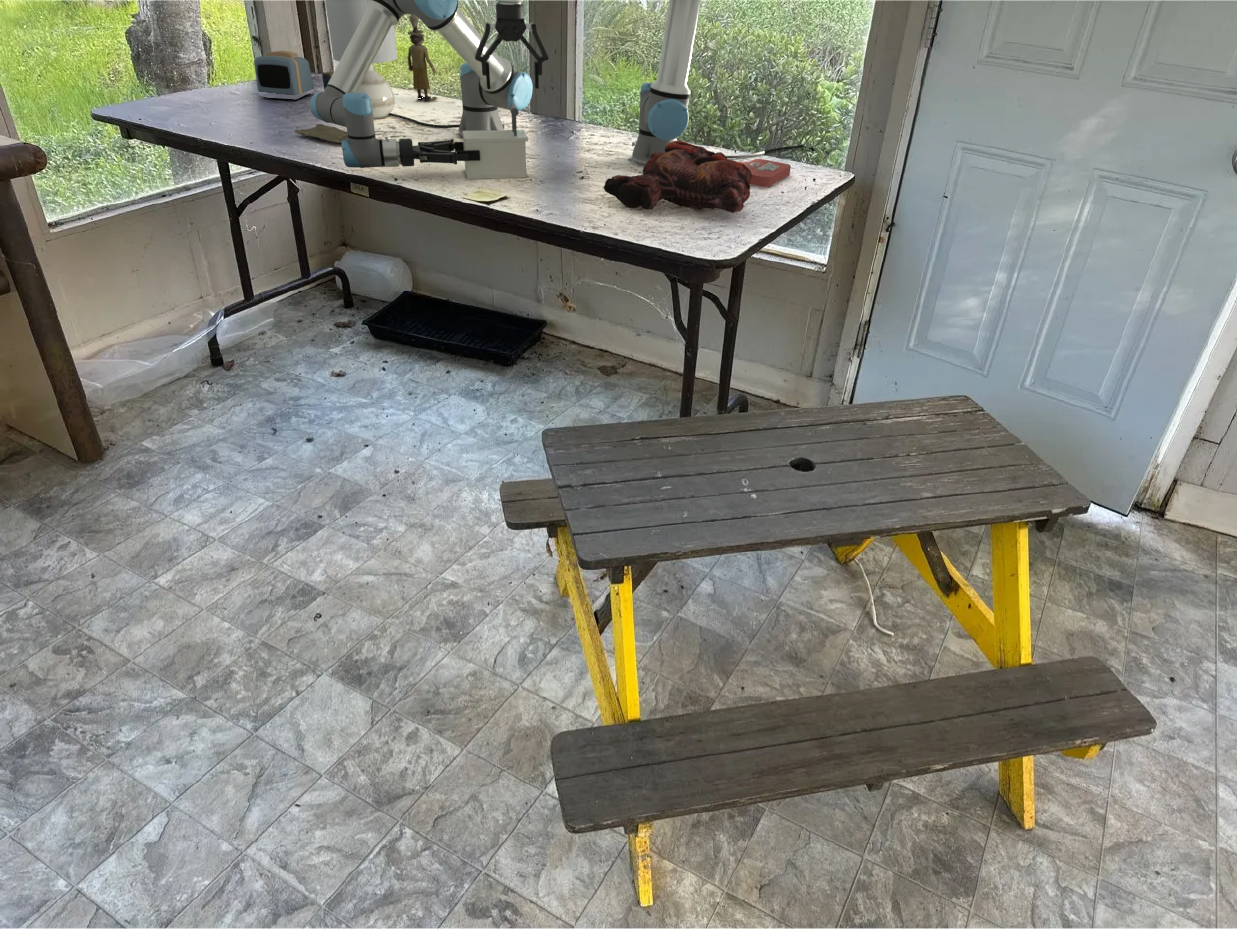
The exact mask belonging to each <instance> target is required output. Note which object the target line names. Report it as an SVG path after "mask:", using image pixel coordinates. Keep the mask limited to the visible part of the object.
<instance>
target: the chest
mask: <svg viewBox="0 0 1237 929" xmlns="http://www.w3.org/2000/svg"><path fill="white" fill-rule="evenodd" d="M462 142H463V145H464V150H480V161H464V170H465V175H466V178H467V180H481V179H483V180H484V179H513V178H514V179H515V178H517V179H518V178H527V150H526V148H527V147H526V146H527V145H526V144H527V143H526V141H518V142H468V143H465V140H464V137H463V138H462Z"/></svg>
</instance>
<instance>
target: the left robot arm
mask: <svg viewBox="0 0 1237 929" xmlns="http://www.w3.org/2000/svg"><path fill="white" fill-rule="evenodd" d="M366 5H367V10H366V12H365V14H364V16H363V18H362V20H361V22H360V24H359V25H358V27H357V29H356V31H355V33H354V35H353V37H352V39H351V41H350V43H349V45H348V46H347V48H346V50H345V52H344V54H343V56H342V58H341V60H340V61H338V64H337V65H336V67H335V70H334V71H333V75H332V77H331V79H330V81H329V83H328V84H327V87H326V88H325V90H324V89H323V91H321V92H319V91H318V92H316V93H315V94H313V95H312V96H311V98H310V101H309V108H310V112H311V114H312V115H313V117H314V118H315V119H317V120H320V121H322V122H325V123H327V124H333V125H337V126H341V127H344V128H346V132H347V134H348V139H346V140H343V141H342V143H341V152H342V160H343V164H344V165H345V167H347V168H357V169H358V168H359V169H366V168H368V169H369V168H399V167H400V166H401V167H414V166H415V160H419V163H421V164H424V163H426V164H427V163H432V164H452V165H458V162H465V161H480V150H464V145H463V141H455V140H454V138H450V139H446V140H433V141H418V142H417V144H416V145H413V139H412V138H411V137H410V138H407V137H406V138H399V139H398V140H397V139H396V138H389V137H388V136H386V137H385V138H376V131H375V130H376V129H375V121H374V120H375V119H373V108H372V105H371V99H370V97H369V95H368V94H365V93H358V92H357V90H358V88H359V86H360V85H361V83H362V81H363V79H364V77H365V75H366V73H367V71H368V69H369V68H370V66H371V64H372V65H373V63H372V62H373V60H374V58H375V56H376V54H377V52H378V51H379V49H380V47H381V45H382V43H383V41H384V39H385V37H386V35H387V34H388V32H389V30H390V28H391V26H393V25H394V26H396V25H398V22H399V21H400V20H401V18H402V17H403V16H404V15H409V16H410V15H415V16H417V17H418V18H419V20H420V21H421V22H422V23H423V24H424V25H425V26H426V27H427V29H428V30H430V31H434V32H438V33H439V34H440V35H441V37H443V39H445V41H446V42H447V43H448V44H449V45H450V46H451V47H452V49H453V50H454V51H455V52H456V53H457V54H458V55H459V56H460V57H461V58H462V60H463V61H464V63H462V64H461V65H460V68H459V73H460V75H459V81H460V91H461V105H462V113H461V118H460V121H459V124H446V125H445V124H433V123H426V122H422V121H418V120H416V119H413V118H410V117H407V116H404V115H400V114H396V113H392V112H390V113H389V114H388V115H387V116H390V117H394V118H398V119H401V120H405V121H408V122H411V123H414V124H417V125H419V126H423V127H428V128H429V127H430V128H435V129H453V128H454V129H455V128H458V136H459V137H460V138H462V139H463V131H483V130H505V124H504V123H503V122H502V119H501V117H500V114H499V108H500V109H501V108H502V109H506V110H509V106H510V105H511V104H514V105H515V106H516V107H517V109H518V111H519V112H520V111H523V110H525V109H526V108H527V107H528V105H529V104H530V102H531V99H532V97H533V88H534V87H533V81H532V78H531V77H530V75H529V74H528V73H527V72H524V71H519V70H517V68H515V66H514V65H513V64H512V63H511V61H510V60H509V59H508V58H505V57H502V58H499V55H498V54H497V52H496V51H494V52H493V53H492V55H491V56H490V57H489V59H488V60H487V62H488V63H489V72H490V89H487V82H486V76H483V74H482V64H481V62H480V61H477V60H476V59H475V54H476V51H477V49H478V46H479V44H480V41H481V39H482V36H483V35H481V33H480V32H479V31H478V30H477V29H476V28H475V26H474V25H473V24H472V23H471V22H470V21H469V20H468V18H467V17H466V15H464V13H463V12H462V11H461V10H460V9H459V8H460V7H459V6H460V3H459V0H367V2H366ZM490 46H491V45H490V44H489V43H488V41H487V42H486V44H485V47H484V49H483V52H482V54H481V57H483V55H484V54H485V52H486V51H487V50H488V48H489V47H490Z"/></svg>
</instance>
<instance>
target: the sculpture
mask: <svg viewBox="0 0 1237 929" xmlns="http://www.w3.org/2000/svg"><path fill="white" fill-rule="evenodd" d="M726 156H727V155H726V154H724V153H723V152H720V151H719V152H717V151H716V152H714V151H711V150H708V149H706V148H705V147H704V146H702V145H695V144H692V143H689V142H686V141H684V140H680V139H677V141H673V142H671V143H669V144H668V145H667V146H666V147H665V153H664V152H660V153H658V152H657V153H653V154H652V155H651V157H650V158H651V159H650V160H648V162H647V163H646V165H645V166H643V168H642V174H638V175H621V174H617V175H613V176H612V177H608V178H607V179H606V180H605V181H604V184H603V185H604V186H603V190H604V192H605V193H606V194H608V195H609V196H610V195H611V196H613V197H615V198H616V199H617V200H618V201H619V202H620V203H621V204H622V205H623V206H625V207H626V208H628V209H636V208H637V209H638V208H641V209H643V210H647V211H649V210H654V208H655V207H657V205H658V203H659V202H660V201H665V202H668V203H669V204H671V203H672V204H674V205H675V206H678V207H681V208H689V209H692V210H696V211H704V209H707V210H715V209H717V210H721V211H725V212H728V213H732V214H734V213H740V212H741V211H743V210H744V207H745V205H744V204H745V203H746V202H747V201H748V200H749V198H750V196H751V190H750V189H751V184H750V180H751V178H752V173H751V171H750V169H749V168H747V167H746V166H745V165H744V164H742V163H740V162H741V161H737V160H733V159H731V158H726Z"/></svg>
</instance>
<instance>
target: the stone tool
mask: <svg viewBox="0 0 1237 929" xmlns="http://www.w3.org/2000/svg"><path fill="white" fill-rule="evenodd" d="M294 133H296V134H298V135H300V136H306V137H309V138H317V139H320V140H321V141H327V142H332V143H338V144H342V141H343V140H346V139H348V134H347V130H343V129H339V128H338V127H336V126H329V125H326V124H323V123H317V124H315V126H314V127H310V128H307V129H306V128H305V129H303V128H301V129H295V130H294Z"/></svg>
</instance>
